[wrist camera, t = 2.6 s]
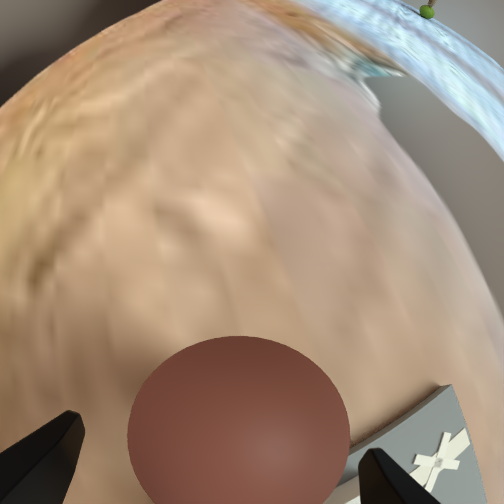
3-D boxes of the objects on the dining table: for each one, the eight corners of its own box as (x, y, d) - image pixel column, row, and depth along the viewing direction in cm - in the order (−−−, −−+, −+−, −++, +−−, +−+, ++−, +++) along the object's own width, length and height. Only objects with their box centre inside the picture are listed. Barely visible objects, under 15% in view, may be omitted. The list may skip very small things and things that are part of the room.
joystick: (196, 463, 14) (162, 589, 3) (164, 385, 16) (55, 341, 4) (277, 434, 16) (417, 487, 4) (245, 359, 18) (317, 259, 6)
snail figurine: (419, 16, 68) (431, -10, 58) (416, 12, 71) (426, -13, 61) (433, 23, 68) (445, -3, 58) (429, 18, 71) (440, -6, 61)
